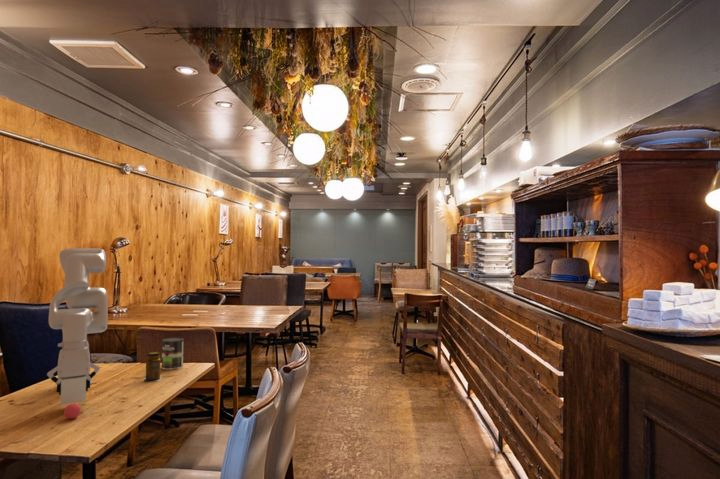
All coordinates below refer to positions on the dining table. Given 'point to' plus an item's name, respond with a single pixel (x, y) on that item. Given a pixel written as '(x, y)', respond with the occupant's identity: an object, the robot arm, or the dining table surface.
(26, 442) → the dining table surface
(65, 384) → the matte cream cube
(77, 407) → the ball
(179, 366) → the coffee can
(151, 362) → the condiment
